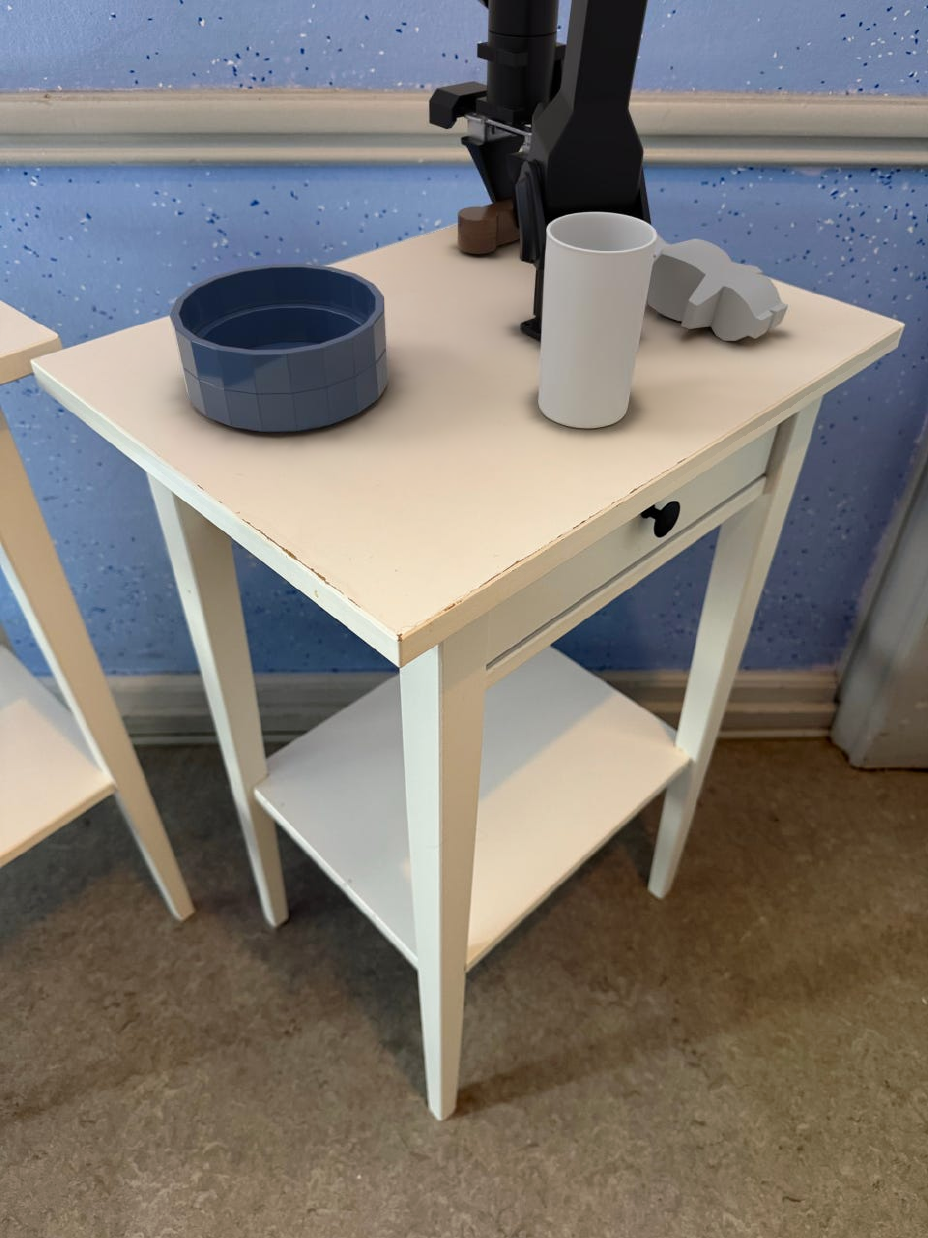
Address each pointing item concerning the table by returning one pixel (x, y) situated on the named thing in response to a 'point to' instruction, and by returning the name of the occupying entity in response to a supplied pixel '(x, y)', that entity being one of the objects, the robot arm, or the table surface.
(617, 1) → the robot arm
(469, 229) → the brown round-ended block
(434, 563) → the table surface
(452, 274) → the table surface
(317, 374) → the bowl
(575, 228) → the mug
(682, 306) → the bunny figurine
